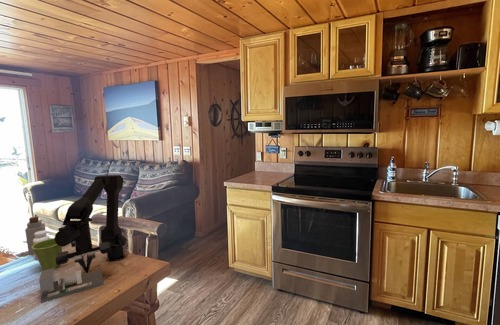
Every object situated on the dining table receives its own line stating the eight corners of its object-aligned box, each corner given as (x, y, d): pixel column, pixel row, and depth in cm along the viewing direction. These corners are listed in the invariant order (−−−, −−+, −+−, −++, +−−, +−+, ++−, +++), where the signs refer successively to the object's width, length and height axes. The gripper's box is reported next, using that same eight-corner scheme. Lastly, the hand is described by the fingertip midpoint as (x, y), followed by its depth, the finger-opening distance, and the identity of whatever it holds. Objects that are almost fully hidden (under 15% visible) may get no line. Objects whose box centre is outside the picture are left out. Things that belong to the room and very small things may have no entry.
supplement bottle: (35, 257, 138) (31, 232, 136) (52, 253, 142) (48, 228, 140) (35, 262, 132) (31, 236, 131) (52, 257, 136) (48, 232, 135)
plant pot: (61, 258, 135) (58, 235, 134) (71, 265, 128) (67, 241, 126) (31, 268, 126) (28, 244, 125) (39, 276, 119) (35, 251, 117)
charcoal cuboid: (63, 288, 106) (62, 282, 105) (62, 291, 104) (62, 285, 104) (60, 289, 105) (59, 283, 105) (59, 292, 103) (58, 286, 103)
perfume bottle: (29, 255, 140) (23, 220, 137) (32, 250, 145) (27, 217, 143) (45, 252, 143) (40, 218, 140) (47, 247, 149) (43, 214, 146)
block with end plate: (81, 274, 116) (80, 262, 115) (82, 285, 108) (80, 272, 107) (59, 280, 112) (58, 267, 111) (58, 292, 104) (56, 278, 103)
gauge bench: (101, 271, 121) (99, 255, 120) (103, 284, 110) (101, 267, 110) (44, 287, 111) (41, 269, 110) (40, 302, 100) (38, 284, 99)
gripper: (106, 224, 123) (110, 258, 125) (55, 235, 113) (60, 271, 115) (109, 232, 113) (113, 268, 115) (53, 244, 104) (59, 283, 106)
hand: (87, 272), depth 113 cm, fingers closed
